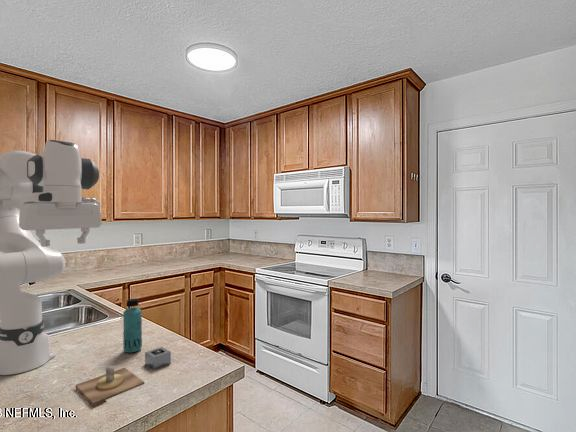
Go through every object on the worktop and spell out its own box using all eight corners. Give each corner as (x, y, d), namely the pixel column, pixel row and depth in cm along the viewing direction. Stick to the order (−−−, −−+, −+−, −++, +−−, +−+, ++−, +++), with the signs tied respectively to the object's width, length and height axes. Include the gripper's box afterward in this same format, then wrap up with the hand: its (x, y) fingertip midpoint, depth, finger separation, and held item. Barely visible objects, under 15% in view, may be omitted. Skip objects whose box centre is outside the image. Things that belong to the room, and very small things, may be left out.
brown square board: (75, 388, 96) (75, 368, 96) (124, 371, 107) (124, 353, 107) (93, 407, 87) (92, 385, 87) (144, 385, 98) (144, 366, 98)
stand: (140, 366, 110) (140, 351, 110) (163, 358, 116) (163, 344, 116) (152, 374, 105) (152, 358, 105) (175, 365, 111) (174, 350, 111)
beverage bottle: (121, 357, 117) (120, 302, 116) (125, 350, 123) (124, 297, 123) (140, 355, 118) (140, 301, 118) (143, 348, 125) (143, 296, 125)
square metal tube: (145, 364, 110) (145, 352, 110) (161, 357, 115) (161, 346, 115) (153, 369, 106) (153, 357, 106) (170, 363, 111) (170, 351, 111)
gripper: (94, 198, 104) (94, 241, 104) (15, 195, 86) (16, 247, 86) (105, 197, 100) (106, 242, 101) (26, 195, 83) (27, 248, 83)
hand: (64, 244), depth 93 cm, fingers open, 8 cm apart
